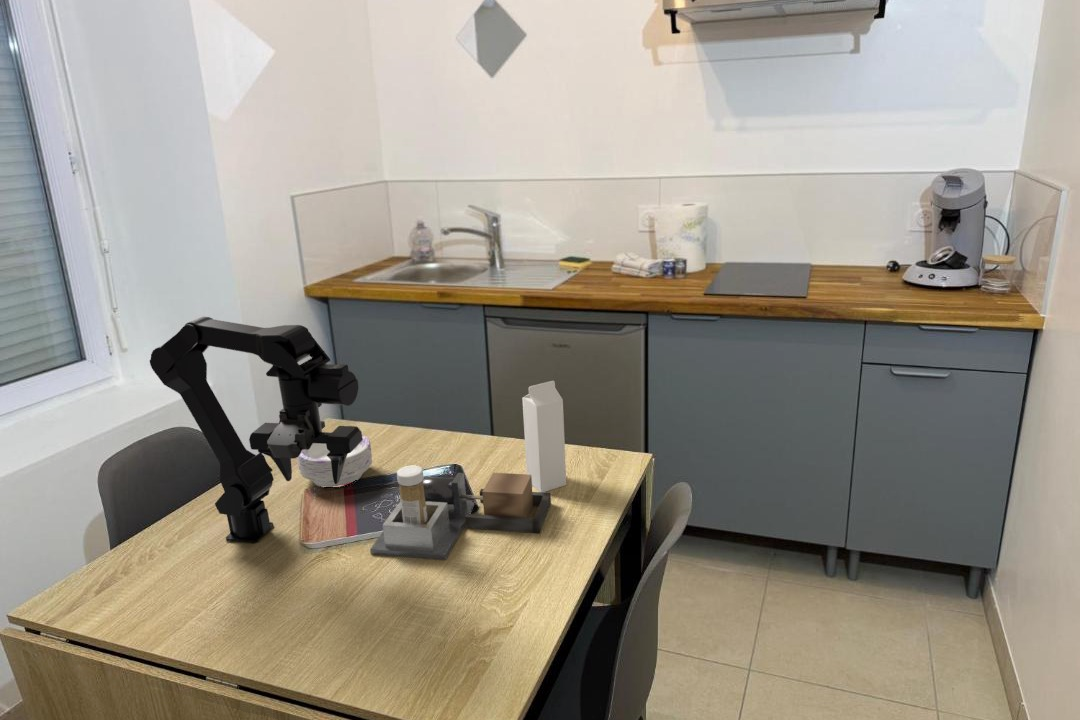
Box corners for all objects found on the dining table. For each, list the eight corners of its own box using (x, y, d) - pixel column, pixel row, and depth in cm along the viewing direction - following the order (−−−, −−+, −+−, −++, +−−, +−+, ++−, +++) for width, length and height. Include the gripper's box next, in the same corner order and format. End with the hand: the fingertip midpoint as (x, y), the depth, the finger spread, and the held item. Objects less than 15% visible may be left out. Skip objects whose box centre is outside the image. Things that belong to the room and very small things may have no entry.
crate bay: (466, 528, 147) (463, 494, 145) (482, 499, 157) (479, 467, 155) (539, 533, 144) (537, 499, 142) (550, 503, 154) (549, 471, 152)
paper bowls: (389, 470, 171) (384, 437, 168) (337, 502, 159) (332, 466, 156) (339, 456, 179) (334, 424, 176) (286, 485, 167) (280, 451, 164)
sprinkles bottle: (434, 533, 144) (428, 467, 140) (418, 546, 140) (411, 478, 136) (415, 527, 146) (408, 462, 142) (399, 539, 143) (391, 473, 138)
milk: (566, 485, 161) (563, 384, 154) (540, 493, 158) (536, 391, 151) (551, 473, 166) (547, 375, 159) (526, 481, 163) (521, 382, 156)
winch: (370, 553, 141) (365, 517, 138) (409, 500, 158) (405, 467, 156) (472, 562, 137) (468, 524, 134) (500, 506, 154) (497, 472, 152)
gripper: (223, 416, 129) (240, 501, 134) (328, 421, 125) (341, 507, 130) (259, 391, 139) (274, 471, 145) (358, 394, 136) (369, 476, 141)
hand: (312, 481), depth 140 cm, fingers open, 9 cm apart
